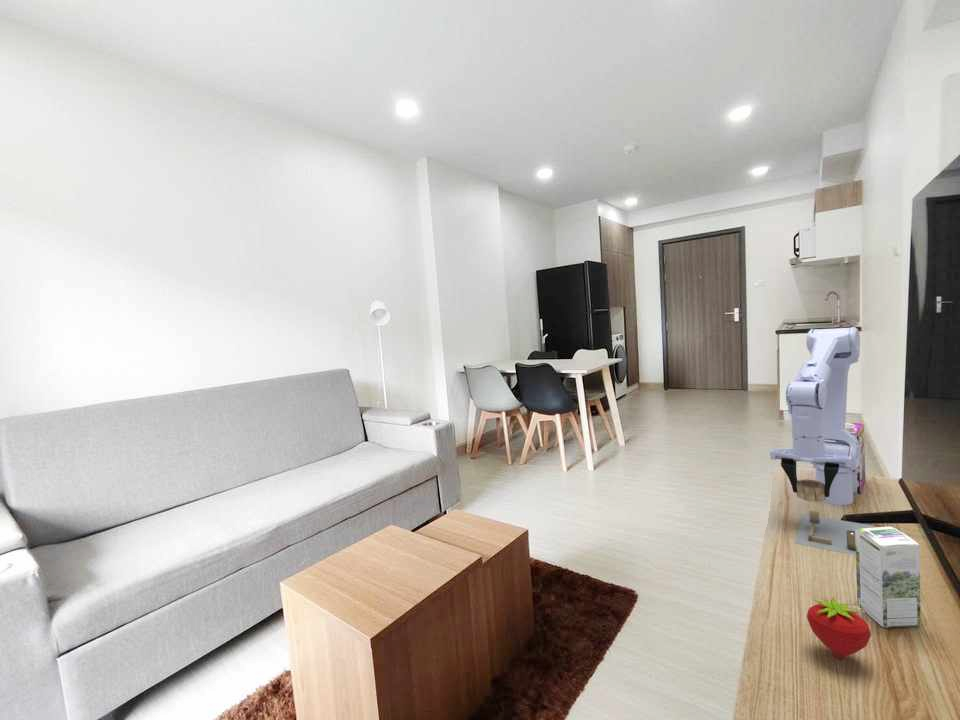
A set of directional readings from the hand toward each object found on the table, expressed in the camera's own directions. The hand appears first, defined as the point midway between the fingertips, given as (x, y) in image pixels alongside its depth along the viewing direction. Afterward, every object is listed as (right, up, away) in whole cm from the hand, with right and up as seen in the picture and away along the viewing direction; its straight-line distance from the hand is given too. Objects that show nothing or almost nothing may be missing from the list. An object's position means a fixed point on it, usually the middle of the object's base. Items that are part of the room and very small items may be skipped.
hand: (811, 493), depth 100 cm
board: (+3, -9, -3) cm, 10 cm away
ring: (0, -1, 0) cm, 1 cm away
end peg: (+2, -9, -9) cm, 13 cm away
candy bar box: (+25, -4, +19) cm, 32 cm away
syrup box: (-7, -13, -26) cm, 30 cm away
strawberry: (-20, -15, -33) cm, 41 cm away
